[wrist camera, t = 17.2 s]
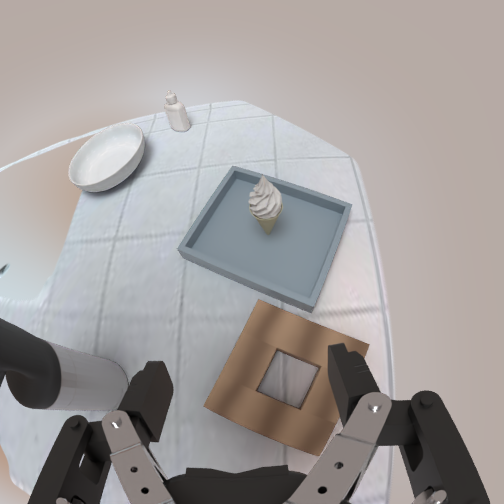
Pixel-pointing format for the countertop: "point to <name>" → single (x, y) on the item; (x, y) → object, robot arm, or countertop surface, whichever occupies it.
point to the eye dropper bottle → (176, 113)
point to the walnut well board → (255, 366)
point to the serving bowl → (107, 158)
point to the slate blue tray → (268, 238)
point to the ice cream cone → (265, 204)
